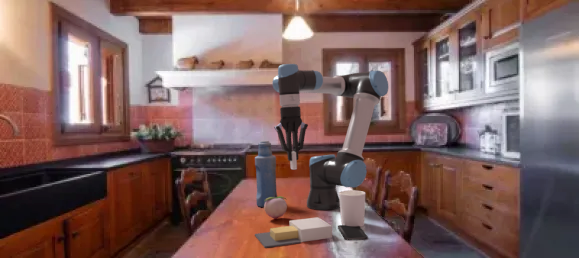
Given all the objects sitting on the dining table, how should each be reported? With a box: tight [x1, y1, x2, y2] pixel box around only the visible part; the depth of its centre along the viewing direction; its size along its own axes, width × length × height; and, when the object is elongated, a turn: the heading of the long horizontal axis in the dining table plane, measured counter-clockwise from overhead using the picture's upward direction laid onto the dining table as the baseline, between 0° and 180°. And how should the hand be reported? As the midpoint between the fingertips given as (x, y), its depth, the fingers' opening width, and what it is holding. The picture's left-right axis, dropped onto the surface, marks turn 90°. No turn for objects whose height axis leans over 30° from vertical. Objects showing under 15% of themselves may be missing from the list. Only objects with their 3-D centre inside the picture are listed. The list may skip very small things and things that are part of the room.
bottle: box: [254, 140, 278, 208], centre depth 179 cm, size 10×10×30 cm
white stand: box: [289, 217, 333, 243], centre depth 133 cm, size 11×12×4 cm
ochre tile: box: [269, 225, 298, 241], centre depth 130 cm, size 8×6×2 cm
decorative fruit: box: [263, 194, 288, 220], centre depth 154 cm, size 9×8×10 cm
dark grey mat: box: [254, 231, 302, 249], centre depth 129 cm, size 12×14×1 cm
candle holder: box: [338, 189, 366, 228], centre depth 143 cm, size 10×10×12 cm
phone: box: [337, 224, 368, 241], centre depth 133 cm, size 8×1×15 cm
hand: (293, 169), depth 144 cm, fingers closed
